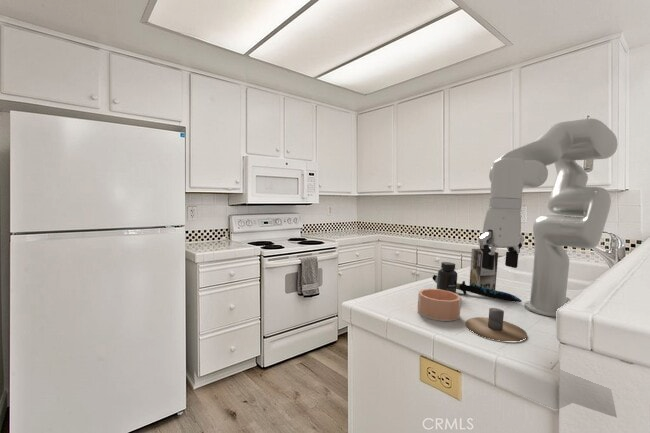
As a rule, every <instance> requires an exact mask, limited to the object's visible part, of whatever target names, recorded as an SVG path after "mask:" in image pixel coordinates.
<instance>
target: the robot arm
mask: <svg viewBox="0 0 650 433" xmlns="http://www.w3.org/2000/svg"><path fill="white" fill-rule="evenodd" d="M617 149H618V139H617V136H616V134H615V133H614V132H613V130H612V129H610V128H609V126H607V124H606V123H604V122H602V120H599V119H597V118H583V119H576V120H568V121H562V122H561V121H560V122H557V123H554V124H553V125H551V126H550V127H549V128H547V130H546V131H544V132H543V133H542V134H541V135H540V136H539V137H538V138H537V139H536V140H535V141H531V142H529V143H527V144H524V145H522V146H519V147H517V148H515V149H513V150H510V151H508V152H506V153H504V154H503V155H502V156H500V157H499V158H498V159H496V160H494V162H493V163H492V166H491V168H490V170H489V173H488V174H489V175H488V177H489V182H490V193H489V194H490V195H489V206H488V207H489V208H488V209H487V210H486V213H485V218H484V222H483V225H482V227H483V228H482V233H481V235H480V236H479V237H478V243H479V249H481V253H483V256H482V268H485V269H488V270H493V269H494V259H495V255H493V253H494V252H496V250H497V248H498V249H499V248H501V249H502V248H506V249H507V251H506V253H505V261H504V262H505V263H504V265H505V266H506V267H509V268H512V269H517V268H518V265H519V264H518V263H519V254H520V253H521V248H522V247H523V243H524V240H525V237H524V236H523V235H522V232H521V231H522V216H521V215H522V214H521V211H522V202H523V191H524V190H523V189H534V188H538V187H541V186H542V185H543V184H545V182H547V179H548V176H549V170H548V167H547V166H551V165H553V164H554V166H555V171H556V178H555V181H554V183H553V186H552V189H551V192H550V195H549V197H548V202H547V208H548V210H549V211H550V212H551V213H552V214H544V215H541V216H538V217H537V218H536V219H534V222H533V226H532V232H533V242H534V251H533V252H534V253H533V254H534V255H533V267H532V275H531V277H532V278H531V286H530V287H531V289H530V298H529V300H528V301H525V302H524V305H523V306H524V308H525V309H526V310H528V311H531V312H533V313H536V314H538V315H542V316H546V317H547V316H548V317H552V318H557V317H556V311H557V309H558V308H560V307H561V306H563V305H564V304H565V303H566V304H568V303H567V302H568V301H570V302H571V298H570V297H568V296H567V290H568V289H567V288H568V279H569V270H570V258H569V255H568V253H567V252H566V251H565V249H564V247H567V248H568V247H570V248H577V249H586V250H590V249H591V250H592V249H594V248H596V247H597V246H598V245H599V243H600V242H601V238H602V236H603V232H604V231H605V230H604V229H605V226H606V223H607V218H608V217H609V216H608V215H609V213H610V210H611V204H612V203H611V202H612V200H611V199H612V198H611V194H610V191H608V190H607V189H605V188H603V187H600V186H599V187H598V186H587V183H588V180H589V177H588V176H589V175H588V173H587V171H586V170H585V169H584V168H583V167H582V166H581V165H580V164H579V163H578V162H577V161H589V160H590V161H593V160H606V159H610V158H612V156H614V154H615V153H616V151H617ZM566 304H565V305H566Z"/></svg>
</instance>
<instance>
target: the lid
mask: <svg viewBox="0 0 650 433" xmlns="http://www.w3.org/2000/svg"><path fill="white" fill-rule="evenodd" d="M504 313H505V311H504V310H503V309H500V308H496V307H490V308H489V310H488V317H481V316H480V317H479V316H477V317H471V318H468V319H466V321H465V327H466V329H467V328H468V329H469V330H468V329H467V330H468V331H470V330H471V331H473V332H474V333H476V334H478V335H477V336H479V335H480V336H479V337H481V336H483V337H482V338H484V337H486V338H485V339H487V338H490V339H494V340H500V341H520V340H523V339H525V338H526V337H528V333H527V332H526V330H524V329H523V328H521V327H520V326H519V325H517V324H514V323H511V322H508V321H506V320H504V319H505V318H504V315H505V314H504ZM471 331H470V332H471ZM473 332H472V333H473ZM474 333H473V334H474ZM476 334H475V335H476ZM490 339H489V340H490ZM526 339H527V338H526ZM494 340H493V341H494ZM500 341H499V342H500Z"/></svg>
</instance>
